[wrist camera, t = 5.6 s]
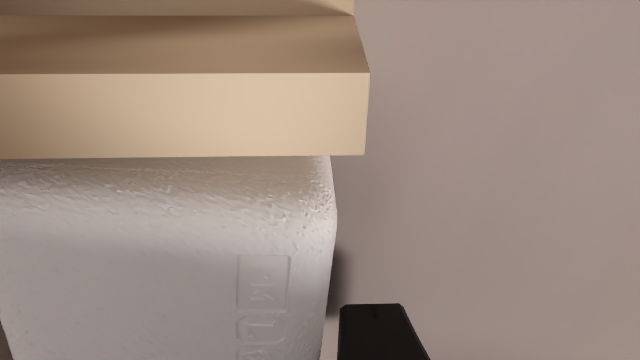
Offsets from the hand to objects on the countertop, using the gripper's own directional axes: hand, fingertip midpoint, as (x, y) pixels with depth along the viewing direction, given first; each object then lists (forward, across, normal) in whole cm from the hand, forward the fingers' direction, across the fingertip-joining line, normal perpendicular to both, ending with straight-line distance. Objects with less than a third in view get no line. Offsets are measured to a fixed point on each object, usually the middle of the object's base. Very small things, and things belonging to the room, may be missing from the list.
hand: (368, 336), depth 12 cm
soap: (+2, +4, 0) cm, 4 cm away
